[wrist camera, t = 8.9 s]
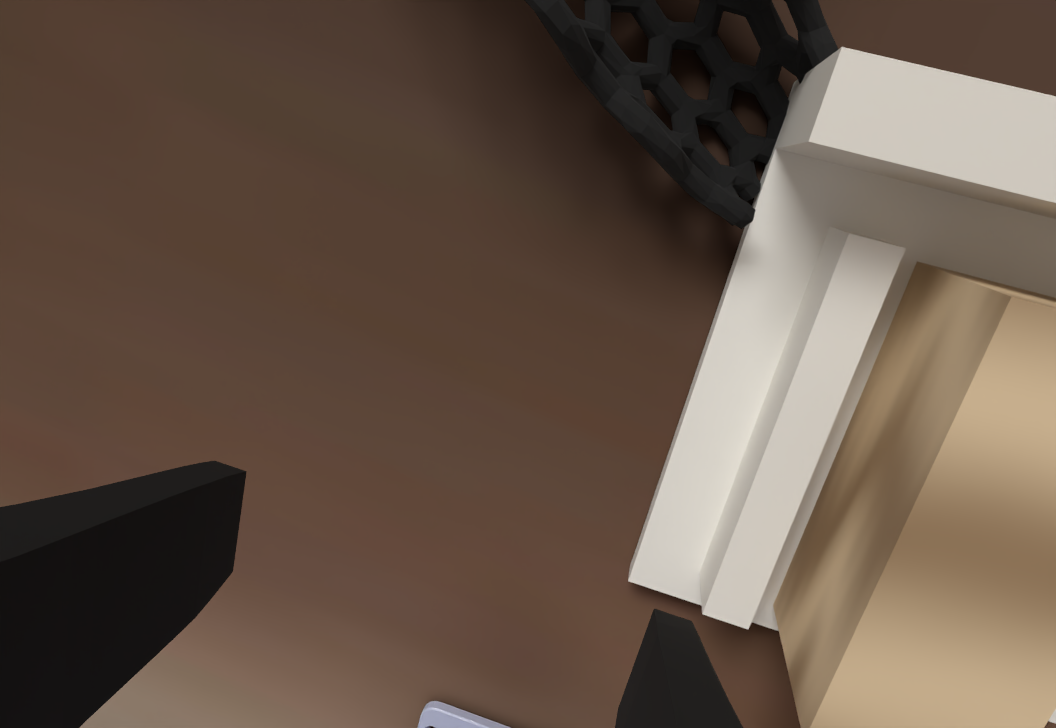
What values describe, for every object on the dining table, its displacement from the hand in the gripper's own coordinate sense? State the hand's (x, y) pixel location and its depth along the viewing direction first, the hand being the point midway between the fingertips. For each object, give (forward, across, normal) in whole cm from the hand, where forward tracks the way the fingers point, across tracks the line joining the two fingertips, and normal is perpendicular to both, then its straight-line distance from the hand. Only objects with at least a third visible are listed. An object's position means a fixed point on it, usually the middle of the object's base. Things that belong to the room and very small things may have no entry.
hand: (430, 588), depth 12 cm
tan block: (+9, -10, -2) cm, 13 cm away
